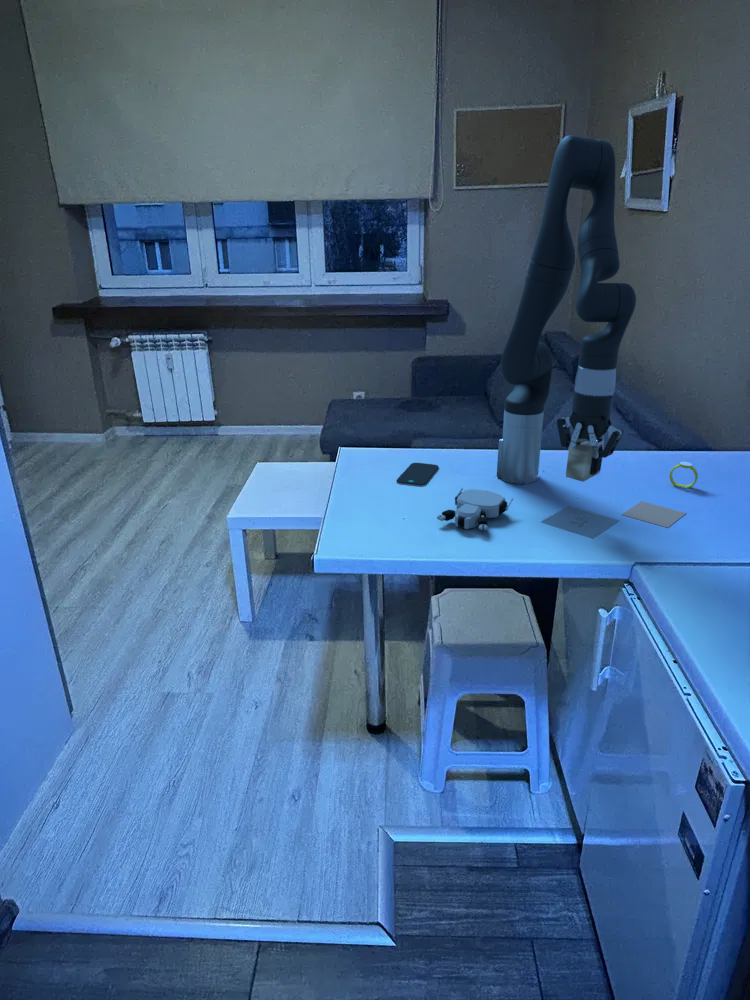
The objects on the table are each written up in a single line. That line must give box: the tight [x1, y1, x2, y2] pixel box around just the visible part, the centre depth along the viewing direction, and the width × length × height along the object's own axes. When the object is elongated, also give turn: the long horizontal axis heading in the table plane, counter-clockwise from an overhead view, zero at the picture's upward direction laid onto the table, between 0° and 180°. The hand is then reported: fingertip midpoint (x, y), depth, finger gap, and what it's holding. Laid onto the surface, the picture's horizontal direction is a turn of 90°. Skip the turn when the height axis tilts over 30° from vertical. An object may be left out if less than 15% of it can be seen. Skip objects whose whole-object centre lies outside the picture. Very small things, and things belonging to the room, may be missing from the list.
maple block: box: [565, 440, 605, 482], centre depth 139 cm, size 4×7×6 cm, turn 136°
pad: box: [621, 500, 687, 529], centre depth 148 cm, size 10×10×1 cm
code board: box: [540, 505, 620, 540], centre depth 145 cm, size 12×12×1 cm
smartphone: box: [396, 462, 440, 487], centre depth 172 cm, size 8×1×15 cm
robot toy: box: [436, 487, 514, 531], centre depth 146 cm, size 12×4×15 cm
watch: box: [669, 461, 699, 489], centre depth 162 cm, size 6×3×6 cm, turn 59°
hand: (583, 470), depth 140 cm, fingers closed on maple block, 4 cm apart
